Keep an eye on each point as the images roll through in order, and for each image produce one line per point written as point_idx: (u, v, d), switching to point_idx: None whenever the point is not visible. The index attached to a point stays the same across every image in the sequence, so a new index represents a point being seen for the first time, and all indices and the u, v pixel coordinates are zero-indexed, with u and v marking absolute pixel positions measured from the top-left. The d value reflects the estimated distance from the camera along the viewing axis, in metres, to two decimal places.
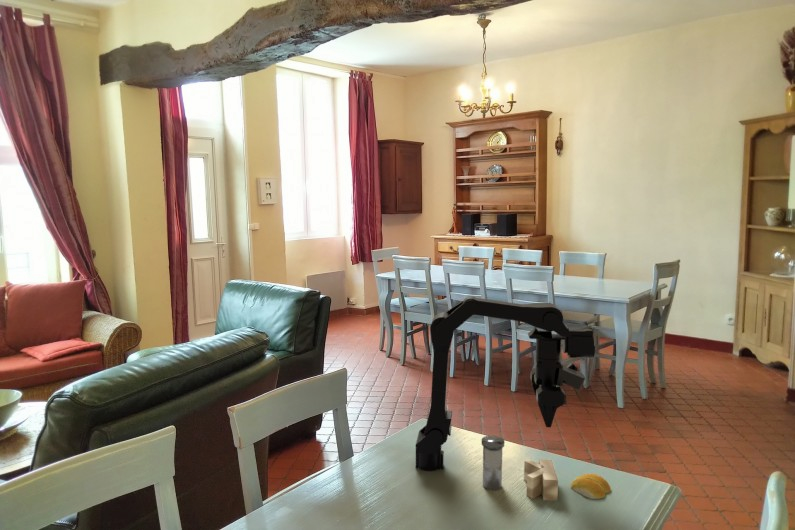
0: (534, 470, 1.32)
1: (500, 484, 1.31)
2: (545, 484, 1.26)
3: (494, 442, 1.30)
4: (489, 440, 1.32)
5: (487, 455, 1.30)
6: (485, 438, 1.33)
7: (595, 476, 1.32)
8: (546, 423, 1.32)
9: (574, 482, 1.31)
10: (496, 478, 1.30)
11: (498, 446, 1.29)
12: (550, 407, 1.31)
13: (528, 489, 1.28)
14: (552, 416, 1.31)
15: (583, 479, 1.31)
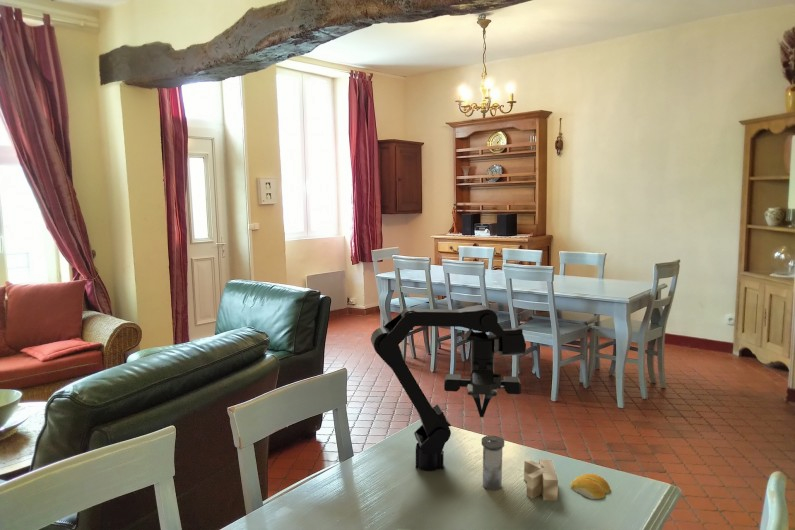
0: (534, 470, 1.32)
1: (500, 484, 1.31)
2: (545, 484, 1.26)
3: (494, 442, 1.30)
4: (489, 440, 1.32)
5: (487, 455, 1.30)
6: (485, 438, 1.33)
7: (595, 476, 1.32)
8: None
9: (574, 482, 1.31)
10: (496, 478, 1.30)
11: (498, 446, 1.29)
12: None
13: (528, 489, 1.28)
14: (476, 405, 1.43)
15: (583, 479, 1.31)
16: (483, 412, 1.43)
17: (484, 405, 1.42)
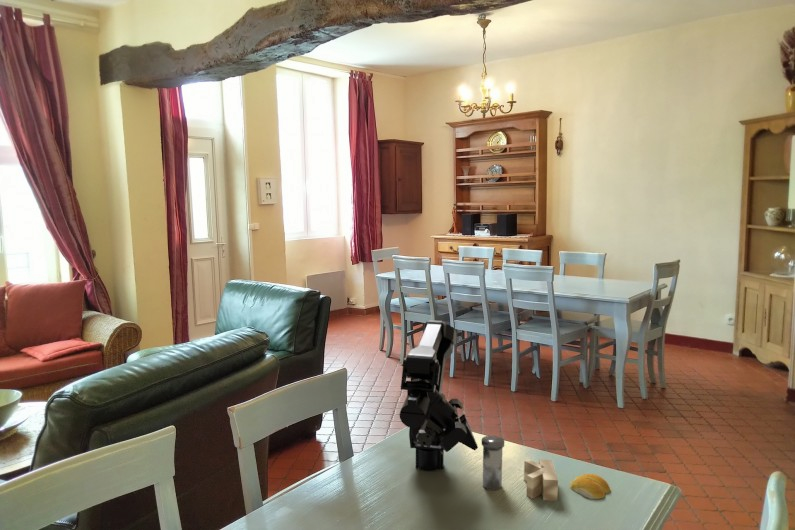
0: (534, 470, 1.32)
1: (500, 484, 1.31)
2: (545, 484, 1.26)
3: (494, 442, 1.30)
4: (489, 440, 1.32)
5: (487, 455, 1.30)
6: (485, 438, 1.33)
7: (594, 476, 1.32)
8: None
9: (573, 482, 1.31)
10: (496, 478, 1.30)
11: (498, 446, 1.29)
12: None
13: (528, 489, 1.28)
14: None
15: (582, 479, 1.31)
16: None
17: None
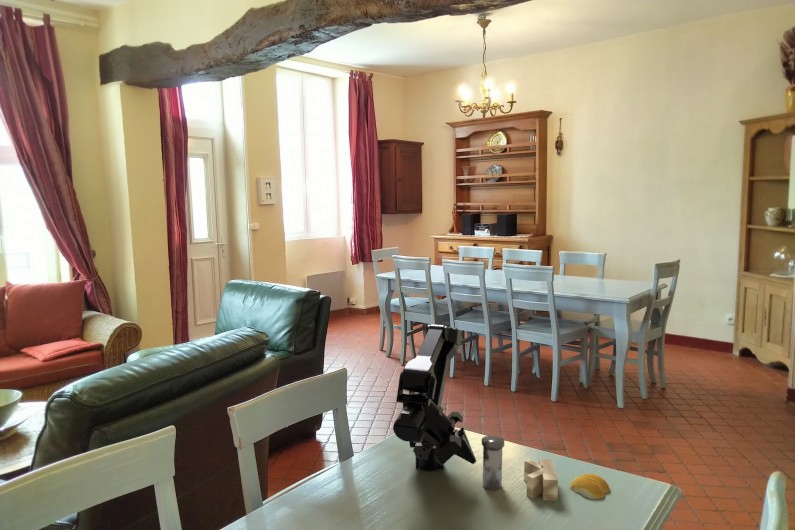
0: (534, 470, 1.32)
1: (500, 484, 1.31)
2: (545, 484, 1.26)
3: (494, 442, 1.30)
4: (489, 440, 1.32)
5: (487, 455, 1.30)
6: (485, 438, 1.33)
7: (594, 476, 1.32)
8: None
9: (573, 482, 1.31)
10: (496, 478, 1.30)
11: (498, 446, 1.29)
12: None
13: (528, 489, 1.28)
14: None
15: (582, 479, 1.31)
16: None
17: None
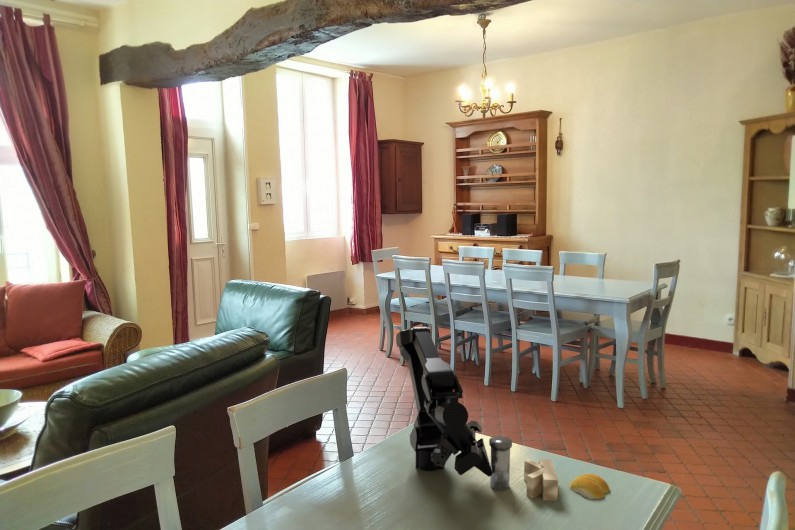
0: (534, 470, 1.32)
1: (508, 485, 1.31)
2: (545, 484, 1.26)
3: (502, 442, 1.30)
4: (496, 440, 1.31)
5: (495, 455, 1.30)
6: (493, 438, 1.32)
7: (594, 476, 1.32)
8: None
9: (573, 482, 1.31)
10: (504, 479, 1.30)
11: (506, 446, 1.29)
12: None
13: (528, 489, 1.28)
14: None
15: (582, 479, 1.31)
16: None
17: None
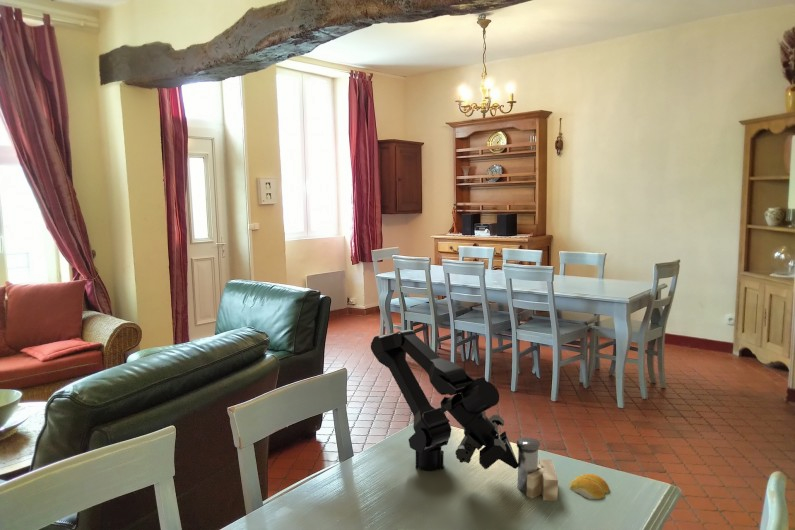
0: None
1: None
2: (545, 484, 1.26)
3: (530, 444, 1.29)
4: (524, 442, 1.31)
5: (523, 457, 1.29)
6: (520, 440, 1.31)
7: (594, 476, 1.32)
8: None
9: (573, 482, 1.31)
10: None
11: (534, 448, 1.28)
12: None
13: (528, 489, 1.28)
14: None
15: (582, 479, 1.31)
16: None
17: None
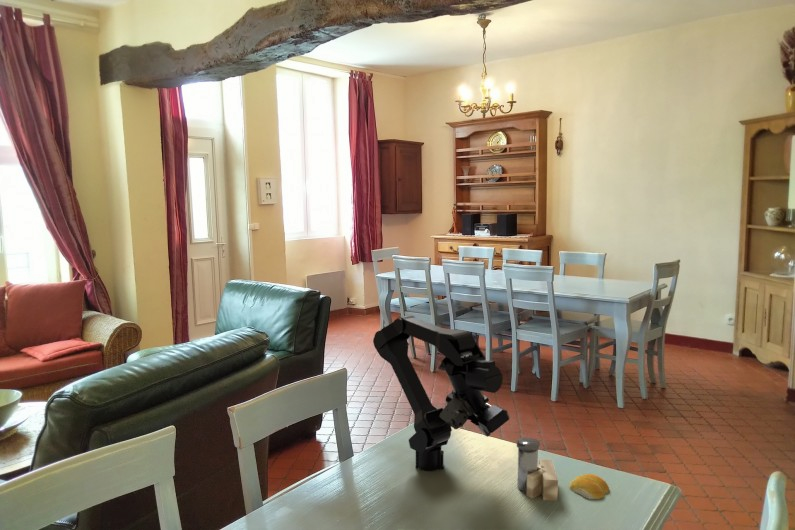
0: None
1: None
2: (545, 484, 1.26)
3: (530, 444, 1.29)
4: (524, 442, 1.31)
5: (523, 457, 1.29)
6: (520, 440, 1.32)
7: (594, 476, 1.32)
8: None
9: (573, 483, 1.31)
10: None
11: (534, 448, 1.28)
12: None
13: (528, 489, 1.28)
14: None
15: (582, 480, 1.31)
16: (484, 433, 1.37)
17: (481, 428, 1.36)
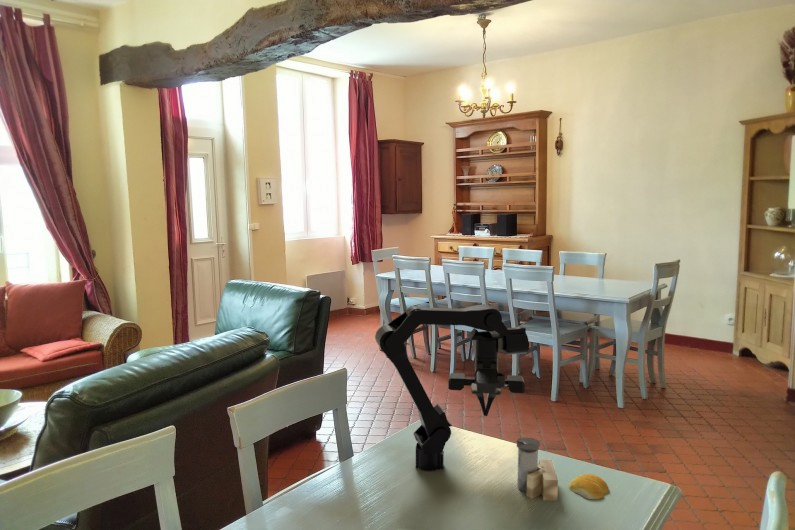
0: None
1: None
2: (545, 484, 1.26)
3: (530, 444, 1.29)
4: (524, 442, 1.31)
5: (523, 457, 1.29)
6: (520, 440, 1.32)
7: (593, 476, 1.32)
8: None
9: (572, 483, 1.31)
10: None
11: (534, 448, 1.28)
12: None
13: (528, 489, 1.28)
14: (480, 404, 1.44)
15: (581, 480, 1.31)
16: (487, 411, 1.43)
17: (488, 404, 1.43)
